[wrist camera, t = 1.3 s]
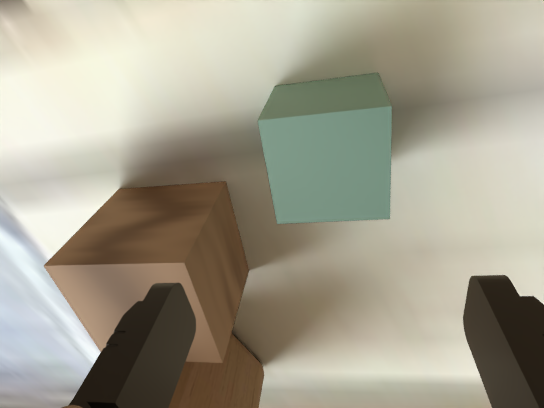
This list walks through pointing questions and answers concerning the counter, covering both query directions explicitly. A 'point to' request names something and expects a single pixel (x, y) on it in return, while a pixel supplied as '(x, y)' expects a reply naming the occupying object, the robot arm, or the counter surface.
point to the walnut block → (157, 261)
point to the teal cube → (328, 149)
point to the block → (221, 381)
